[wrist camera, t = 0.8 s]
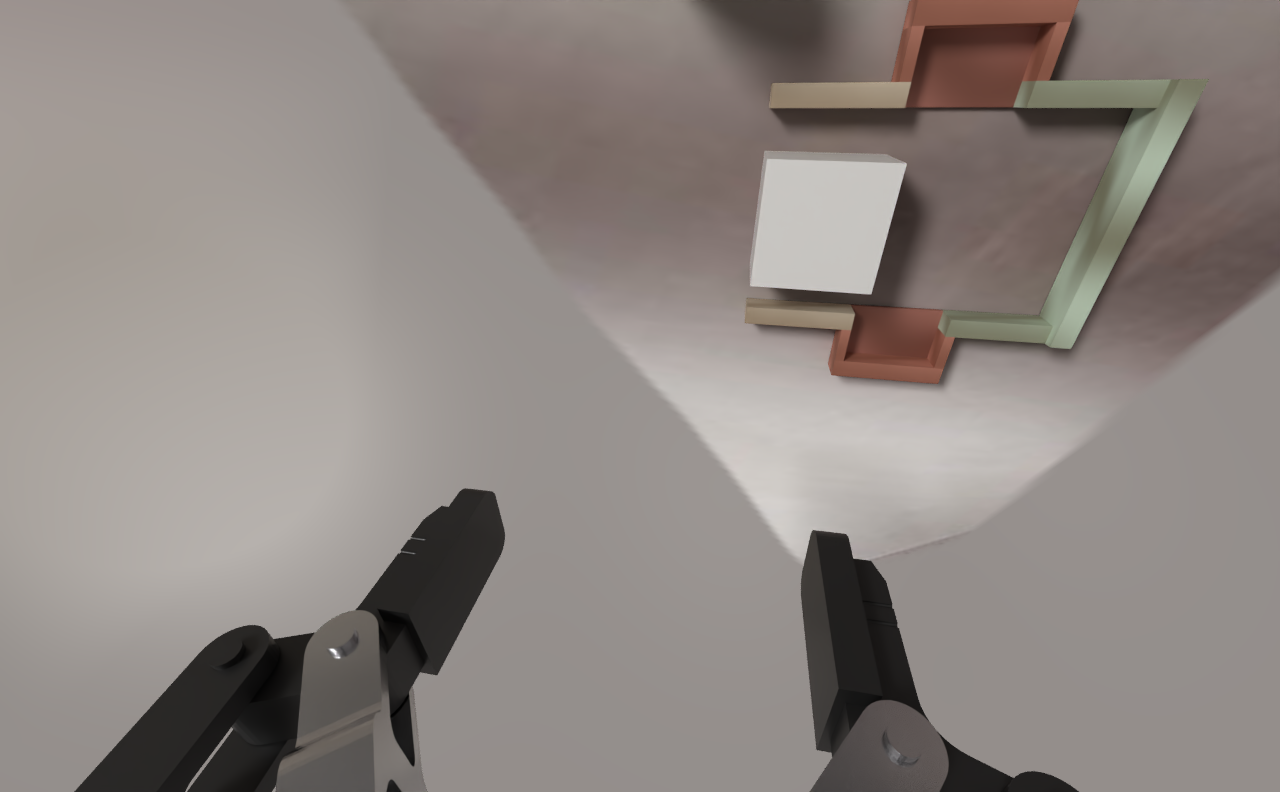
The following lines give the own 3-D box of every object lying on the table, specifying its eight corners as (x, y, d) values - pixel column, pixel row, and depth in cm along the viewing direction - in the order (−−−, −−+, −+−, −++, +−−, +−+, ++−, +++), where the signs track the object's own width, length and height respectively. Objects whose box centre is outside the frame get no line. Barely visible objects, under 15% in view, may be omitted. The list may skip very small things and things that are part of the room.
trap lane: (780, 5, 22) (783, -2, 21) (1214, -9, 20) (1258, -18, 18) (739, 356, 32) (739, 371, 30) (1029, 379, 29) (1046, 396, 27)
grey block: (764, 150, 26) (767, 158, 22) (885, 154, 25) (906, 163, 21) (749, 263, 29) (750, 286, 26) (856, 270, 28) (871, 294, 25)
